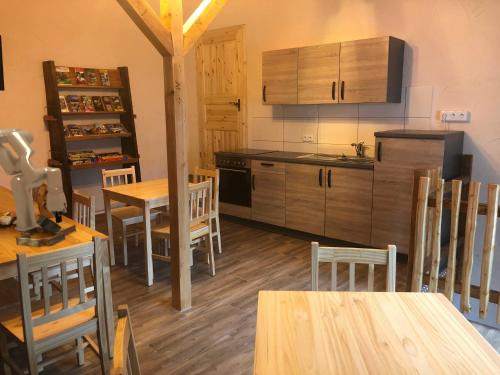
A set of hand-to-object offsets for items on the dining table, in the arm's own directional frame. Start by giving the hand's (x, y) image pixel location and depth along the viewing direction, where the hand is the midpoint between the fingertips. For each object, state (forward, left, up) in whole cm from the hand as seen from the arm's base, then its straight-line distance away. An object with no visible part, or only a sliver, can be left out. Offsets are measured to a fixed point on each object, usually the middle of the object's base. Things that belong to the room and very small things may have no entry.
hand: (59, 222), depth 237 cm
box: (0, -2, -4) cm, 4 cm away
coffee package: (-32, +26, -6) cm, 42 cm away
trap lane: (0, -9, -6) cm, 10 cm away
